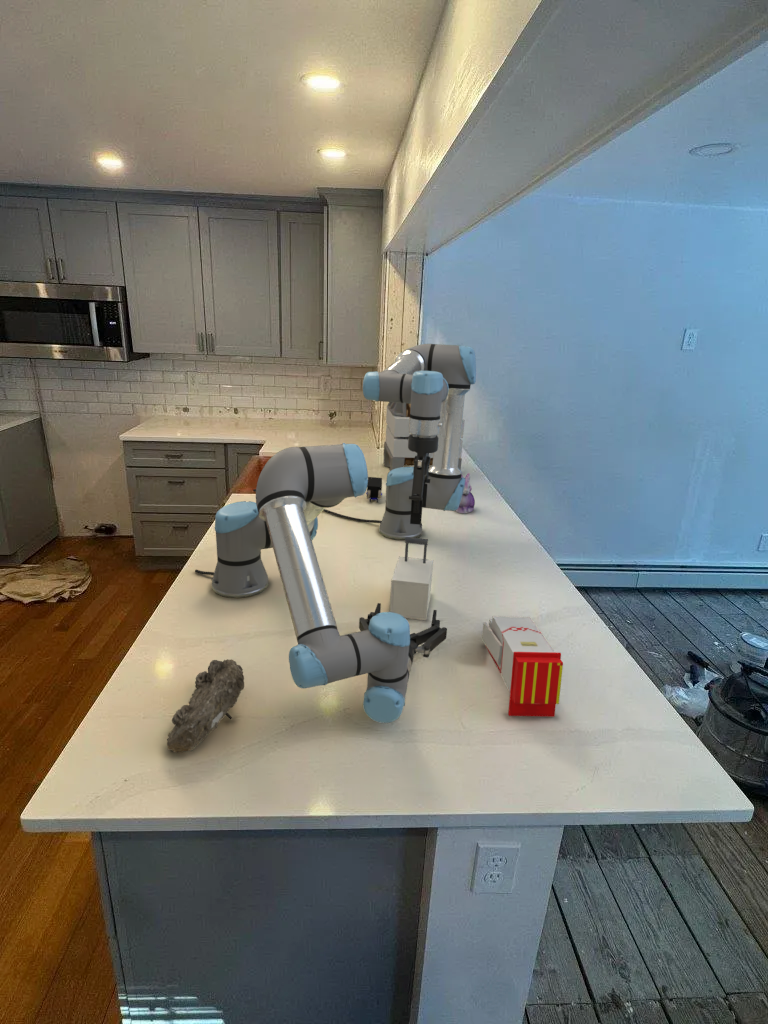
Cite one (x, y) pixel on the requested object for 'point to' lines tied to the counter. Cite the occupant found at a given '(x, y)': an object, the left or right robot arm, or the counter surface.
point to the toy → (525, 665)
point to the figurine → (466, 498)
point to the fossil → (206, 705)
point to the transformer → (402, 437)
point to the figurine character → (374, 488)
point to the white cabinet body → (410, 600)
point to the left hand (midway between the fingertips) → (406, 611)
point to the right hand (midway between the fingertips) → (418, 514)
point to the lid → (413, 566)
